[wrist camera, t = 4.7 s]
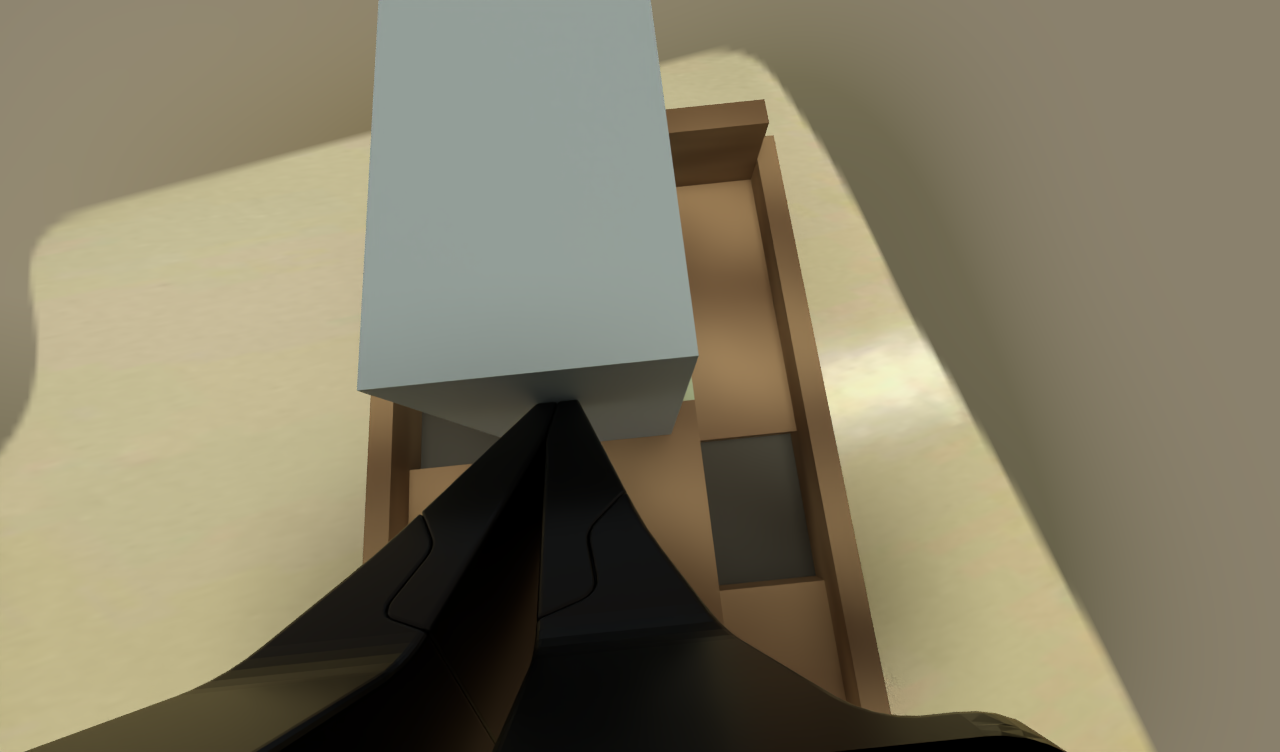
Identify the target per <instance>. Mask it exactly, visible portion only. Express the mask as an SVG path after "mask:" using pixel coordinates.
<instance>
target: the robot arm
mask: <svg viewBox="0 0 1280 752" xmlns="http://www.w3.org/2000/svg"><path fill="white" fill-rule="evenodd" d="M25 752H1066V751H1064V750H1063V749H1061V748H1060V747H1058V746H1057V745H1055V744H1054V743H1052V742H1051V741H1049V740H1048V739H1046V738H1045V737H1043V736H1042V735H1040V734H1038V733H1037V732H1035V731H1034V730H1032V729H1031V728H1029V727H1028V726H1026V725H1025V724H1023V723H1021V722H1020V721H1018V720H1016V719H1012V718H1009V717H1006V716H1003V715H1000V714H996V713H988V712H979V711H971V712H952V713H942V714H932V715H922V716H897V715H891V714H885V713H879V712H874V711H871V710H868V709H865V708H862V707H859V706H855V705H853V704H851V703H849V702H847V701H845V700H842V699H840V698H838V697H836V696H835V695H833V694H831V693H830V692H828V691H826V690H825V689H823V688H821V687H820V686H818V685H816V684H815V683H813V682H811V681H809V680H808V679H806V678H804V677H803V676H801V675H799V674H798V673H796V672H794V671H793V670H791V669H789V668H788V667H786V666H784V665H783V664H781V663H779V662H778V661H776V660H774V659H773V658H771V657H769V656H768V655H766V654H764V653H763V652H761V651H759V650H758V649H756V648H754V647H753V646H751V645H749V644H748V643H746V642H744V641H743V640H741V639H740V638H738V637H737V636H735V635H734V634H733V633H731V632H730V631H729V630H728V629H727V628H726V627H725V626H724V625H723V624H722V623H721V622H720V621H719V620H718V619H717V618H716V617H715V616H714V615H713V613H712V612H711V611H710V610H709V609H708V607H707V606H706V605H705V604H704V602H703V601H702V600H701V599H700V597H699V596H698V595H697V593H696V592H695V591H694V590H693V588H692V587H691V586H690V584H689V583H688V582H687V580H686V579H685V578H684V577H683V575H682V574H681V573H680V571H679V570H678V569H677V568H676V566H675V565H674V564H673V562H672V561H671V560H670V558H669V557H668V556H667V555H666V553H665V552H664V551H663V549H662V548H661V547H660V545H659V544H658V542H657V541H656V540H655V538H654V537H653V535H652V534H651V533H650V531H649V530H648V528H647V527H646V525H645V523H644V522H643V520H642V518H641V517H640V515H639V513H638V511H637V510H636V508H635V506H634V504H633V503H632V501H631V499H630V497H629V495H628V494H627V492H626V490H625V488H624V486H623V484H622V482H621V480H620V478H619V476H618V474H617V473H616V471H615V469H614V467H613V465H612V463H611V461H610V459H609V457H608V455H607V454H606V452H605V450H604V448H603V446H602V444H601V442H600V440H599V438H598V436H597V435H596V433H595V431H594V429H593V427H592V425H591V423H590V421H589V419H588V417H587V416H586V414H585V412H584V410H583V408H582V406H581V404H580V402H579V401H578V400H568V401H560V402H558V404H557V403H556V402H548V403H538V404H536V405H535V406H534V407H533V408H531V409H530V410H529V411H528V412H527V413H526V414H525V415H524V416H523V417H522V418H521V419H520V420H519V421H518V422H517V423H516V424H514V425H513V426H512V427H511V428H510V429H509V430H508V431H507V432H506V433H505V434H504V435H503V436H502V437H501V438H500V439H499V440H497V441H496V442H495V443H494V444H493V445H492V446H491V447H490V448H489V449H488V450H487V451H486V452H485V453H484V454H483V455H481V456H480V457H479V458H478V459H477V460H476V461H475V462H474V463H473V464H472V465H471V466H470V467H469V468H468V469H467V470H466V471H464V472H463V473H462V474H461V475H460V476H459V477H458V478H457V479H456V480H455V481H454V482H453V483H452V484H451V485H450V486H449V487H447V488H446V489H445V490H444V491H443V492H442V493H441V494H440V495H439V496H438V497H437V498H436V499H435V500H434V501H433V502H432V503H430V504H429V505H428V506H427V507H426V508H425V509H424V510H423V511H422V515H418V516H416V517H415V518H414V519H413V520H412V521H411V522H410V523H409V524H408V525H407V526H406V527H405V528H404V529H403V530H402V531H400V532H399V533H398V534H397V535H396V536H395V537H394V538H393V539H392V540H390V541H389V542H388V543H387V544H386V545H385V546H384V547H383V548H382V549H380V550H379V551H378V552H377V553H376V554H375V555H374V556H372V557H371V558H370V559H369V560H368V561H367V562H365V563H364V564H363V565H362V566H361V567H359V568H358V569H357V570H356V571H355V572H353V573H352V574H351V575H350V576H349V577H347V578H346V579H345V580H344V581H343V582H341V583H340V584H339V585H338V586H336V587H335V588H334V589H333V590H332V591H330V592H329V593H328V594H327V595H325V596H324V597H323V598H322V599H320V600H319V601H318V602H317V603H315V604H314V605H313V606H312V607H311V608H309V609H308V610H307V611H306V612H304V613H303V614H302V615H301V616H299V617H298V618H297V619H296V620H295V621H293V622H292V623H291V624H290V625H288V626H287V627H286V628H285V629H283V630H282V631H281V632H280V633H279V634H277V635H276V636H275V637H274V638H272V639H271V640H270V641H269V642H267V643H266V644H265V645H264V646H263V647H261V648H260V649H259V650H257V651H256V652H255V653H253V654H252V655H251V656H249V657H248V658H247V659H245V660H244V661H243V662H241V663H240V664H238V665H236V666H235V667H233V668H232V669H230V670H229V671H227V672H225V673H224V674H222V675H220V676H218V677H216V678H215V679H213V680H211V681H209V682H207V683H205V684H203V685H201V686H199V687H197V688H195V689H193V690H190V691H188V692H186V693H183V694H181V695H178V696H176V697H173V698H170V699H167V700H165V701H162V702H159V703H156V704H154V705H151V706H148V707H145V708H143V709H140V710H137V711H134V712H132V713H129V714H126V715H124V716H121V717H118V718H115V719H113V720H110V721H107V722H104V723H102V724H99V725H96V726H93V727H91V728H88V729H85V730H82V731H80V732H77V733H74V734H72V735H69V736H66V737H63V738H61V739H58V740H55V741H52V742H50V743H47V744H44V745H41V746H39V747H36V748H33V749H30V750H28V751H25Z"/></svg>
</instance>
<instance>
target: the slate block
mask: <svg viewBox="0 0 1280 752" xmlns="http://www.w3.org/2000/svg"><path fill="white" fill-rule="evenodd" d="M374 77H375V78H374V95H373V112H372V130H371V148H370V166H369V184H368V201H367V219H366V237H365V255H364V273H363V291H362V309H361V327H360V345H359V363H358V381H357V391H360V392H363V393H366V394H369V395H372V396H375V397H378V398H381V399H384V400H388V401H391V402H394V403H397V404H400V405H403V406H406V407H409V408H412V409H415V410H418V411H421V412H424V413H427V414H430V415H433V416H436V417H439V418H443V419H446V420H449V421H452V422H455V423H458V424H461V425H464V426H467V427H470V428H473V429H476V430H479V431H482V432H485V433H488V434H491V435H494V436H498V437H502V436H503V435H504V434H505V433H506V432H507V431H508V430H509V429H510V428H511V427H512V426H513V425H514V424H516V423H517V422H518V421H519V420H520V419H521V418H522V417H523V416H524V415H525V414H526V413H527V412H528V411H529V410H530V409H531V408H533V407H534V406H535V405H536V404H538V403H548V402H556V403H557V404H558V402H560V401H568V400H578V401H579V402H580V404H581V406H582V408H583V410H584V412H585V414H586V416H587V417H588V419H589V421H590V423H591V425H592V427H593V429H594V431H595V433H596V435H597V436H598V438H599V440H600V441H610V440H620V439H629V438H639V437H649V436H659V435H669V434H671V433H672V430H673V427H674V425H675V422H676V419H677V416H678V413H679V410H680V407H681V405H682V402H683V399H684V396H685V393H686V390H687V388H688V385H689V382H690V379H691V376H692V373H693V371H694V368H695V365H696V362H697V359H698V356H699V354H698V346H697V339H696V331H695V324H694V317H693V309H692V302H691V295H690V287H689V280H688V272H687V265H686V258H685V250H684V243H683V236H682V228H681V221H680V214H679V206H678V199H677V191H676V184H675V177H674V169H673V162H672V155H671V147H670V140H669V132H668V125H667V118H666V110H665V103H664V96H663V88H662V81H661V74H660V66H659V59H658V52H657V44H656V37H655V30H654V22H653V15H652V7H651V0H379V4H378V23H377V40H376V59H375V76H374Z"/></svg>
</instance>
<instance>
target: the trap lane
mask: <svg viewBox="0 0 1280 752" xmlns="http://www.w3.org/2000/svg"><path fill="white" fill-rule="evenodd" d="M666 118H667V125H668V132H669V140H670V147H671V155H672V162H673V169H674V177H675V184H676V191H677V199H678V206H679V214H680V221H681V228H682V236H683V243H684V250H685V258H686V265H687V272H688V280H689V287H690V295H691V302H692V309H693V317H694V324H695V331H696V339H697V346H698V354H699V356H698V359H697V362H696V365H695V368H694V371H693V373H692V376H691V379H690V382H689V385H688V388H687V390H686V393H685V396H684V399H683V402H682V405H681V407H680V410H679V413H678V416H677V419H676V422H675V425H674V427H673V430H672V433H671V434H669V435H659V436H649V437H639V438H629V439H620V440H610V441H600V442H601V444H602V446H603V448H604V450H605V452H606V454H607V455H608V457H609V459H610V461H611V463H612V465H613V467H614V469H615V471H616V473H617V474H618V476H619V478H620V480H621V482H622V484H623V486H624V488H625V490H626V492H627V494H628V495H629V497H630V499H631V501H632V503H633V504H634V506H635V508H636V510H637V511H638V513H639V515H640V517H641V518H642V520H643V522H644V523H645V525H646V527H647V528H648V530H649V531H650V533H651V534H652V535H653V537H654V538H655V540H656V541H657V542H658V544H659V545H660V547H661V548H662V549H663V551H664V552H665V553H666V555H667V556H668V557H669V558H670V560H671V561H672V562H673V564H674V565H675V566H676V568H677V569H678V570H679V571H680V573H681V574H682V575H683V577H684V578H685V579H686V580H687V582H688V583H689V584H690V586H691V587H692V588H693V590H694V591H695V592H696V593H697V595H698V596H699V597H700V599H701V600H702V601H703V602H704V604H705V605H706V606H707V607H708V609H709V610H710V611H711V612H712V613H713V615H714V616H715V617H716V618H717V619H718V620H719V621H720V622H721V623H722V624H723V625H724V626H725V627H726V628H727V629H728V630H729V631H730V632H731V633H733V634H734V635H735V636H737V637H738V638H740V639H741V640H743V641H744V642H746V643H748V644H749V645H751V646H753V647H754V648H756V649H758V650H759V651H761V652H763V653H764V654H766V655H768V656H769V657H771V658H773V659H774V660H776V661H778V662H779V663H781V664H783V665H784V666H786V667H788V668H789V669H791V670H793V671H794V672H796V673H798V674H799V675H801V676H803V677H804V678H806V679H808V680H809V681H811V682H813V683H815V684H816V685H818V686H820V687H821V688H823V689H825V690H826V691H828V692H830V693H831V694H833V695H835V696H836V697H838V698H840V699H842V700H845V701H847V702H849V703H851V704H853V705H855V706H859V707H862V708H865V709H868V710H871V711H874V712H879V713H885V714H891V712H890V707H889V702H888V697H887V692H886V687H885V682H884V677H883V672H882V667H881V662H880V658H879V653H878V648H877V643H876V638H875V633H874V628H873V623H872V618H871V613H870V608H869V603H868V598H867V594H866V589H865V584H864V579H863V574H862V569H861V564H860V559H859V554H858V549H857V544H856V539H855V535H854V530H853V525H852V520H851V515H850V510H849V505H848V500H847V495H846V490H845V485H844V480H843V475H842V471H841V466H840V461H839V456H838V451H837V446H836V441H835V436H834V431H833V426H832V421H831V416H830V411H829V407H828V402H827V397H826V392H825V387H824V382H823V377H822V372H821V367H820V362H819V357H818V352H817V348H816V343H815V338H814V333H813V328H812V323H811V318H810V313H809V308H808V303H807V298H806V293H805V288H804V284H803V279H802V274H801V269H800V264H799V259H798V254H797V249H796V244H795V239H794V234H793V229H792V224H791V220H790V215H789V210H788V205H787V200H786V195H785V190H784V185H783V180H782V175H781V170H780V165H779V161H778V156H777V151H776V146H775V141H774V136H765V133H766V130H767V127H768V124H769V120H768V115H767V110H766V106H765V101H764V99H763V100H754V101H744V102H734V103H725V104H715V105H705V106H696V107H686V108H676V109H667V110H666ZM500 438H501V437H498V436H494V435H491V434H488V433H485V432H482V431H479V430H476V429H473V428H470V427H467V426H464V425H461V424H458V423H455V422H452V421H449V420H446V419H443V418H439V417H436V416H433V415H430V414H427V413H424V412H421V411H418V410H415V409H412V408H409V407H406V406H403V405H400V404H397V403H394V402H391V401H388V400H384V399H381V398H378V397H375V396H372V395H371V401H370V421H369V442H368V463H367V484H366V505H365V526H364V547H363V564H364V563H365V562H367V561H368V560H369V559H370V558H371V557H372V556H374V555H375V554H376V553H377V552H378V551H379V550H380V549H382V548H383V547H384V546H385V545H386V544H387V543H388V542H389V541H390V540H392V539H393V538H394V537H395V536H396V535H397V534H398V533H399V532H400V531H402V530H403V529H404V528H405V527H406V526H407V525H408V524H409V523H410V522H411V521H412V520H413V519H414V518H415V517H416V516H418V515H422V511H423V510H424V509H425V508H426V507H427V506H428V505H429V504H430V503H432V502H433V501H434V500H435V499H436V498H437V497H438V496H439V495H440V494H441V493H442V492H443V491H444V490H445V489H446V488H447V487H449V486H450V485H451V484H452V483H453V482H454V481H455V480H456V479H457V478H458V477H459V476H460V475H461V474H462V473H463V472H464V471H466V470H467V469H468V468H469V467H470V466H471V465H472V464H473V463H474V462H475V461H476V460H477V459H478V458H479V457H480V456H481V455H483V454H484V453H485V452H486V451H487V450H488V449H489V448H490V447H491V446H492V445H493V444H494V443H495V442H496V441H497V440H499V439H500Z"/></svg>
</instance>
